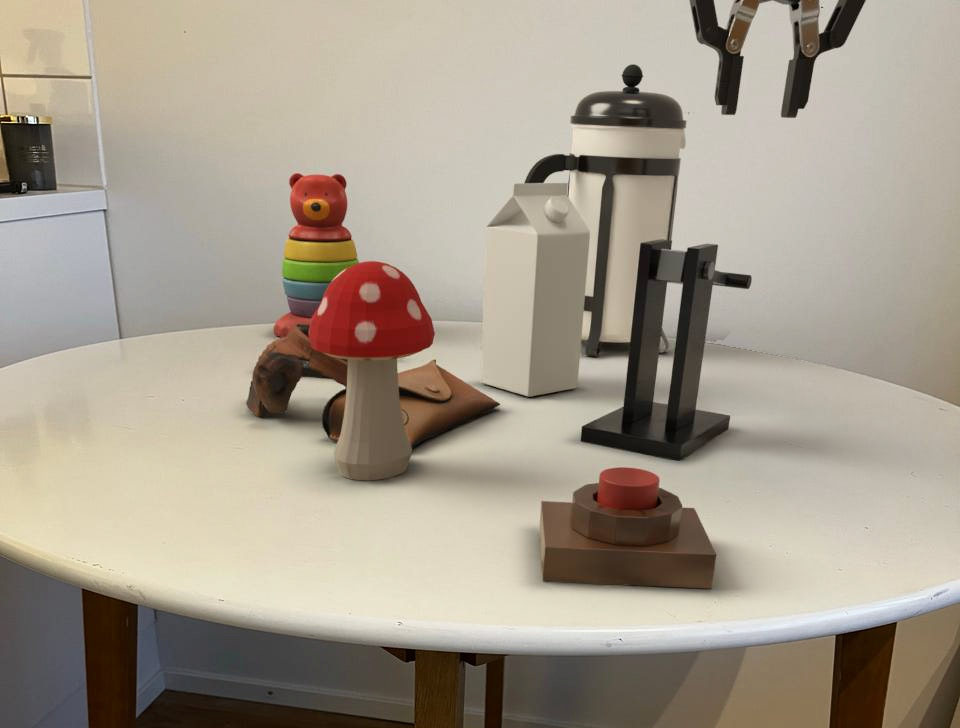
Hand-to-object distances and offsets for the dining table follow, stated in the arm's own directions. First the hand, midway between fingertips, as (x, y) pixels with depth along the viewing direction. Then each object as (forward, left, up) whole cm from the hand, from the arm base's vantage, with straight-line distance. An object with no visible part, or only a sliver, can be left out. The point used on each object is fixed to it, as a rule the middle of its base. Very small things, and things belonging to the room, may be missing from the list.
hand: (758, 114), depth 74 cm
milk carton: (+15, -20, -25) cm, 36 cm away
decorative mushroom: (+27, +9, -25) cm, 38 cm away
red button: (+10, +25, -22) cm, 34 cm away
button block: (+10, +25, -25) cm, 37 cm away
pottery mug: (+36, -6, -25) cm, 44 cm away
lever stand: (+4, -4, -25) cm, 26 cm away
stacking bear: (+40, -44, -25) cm, 65 cm away
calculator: (+37, -26, -25) cm, 52 cm away
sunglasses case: (+25, -4, -25) cm, 36 cm away
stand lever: (+1, -9, -13) cm, 16 cm away
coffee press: (+6, -42, -25) cm, 49 cm away
